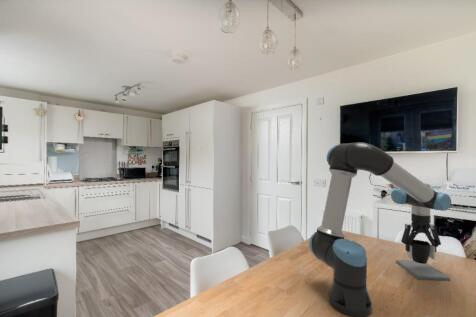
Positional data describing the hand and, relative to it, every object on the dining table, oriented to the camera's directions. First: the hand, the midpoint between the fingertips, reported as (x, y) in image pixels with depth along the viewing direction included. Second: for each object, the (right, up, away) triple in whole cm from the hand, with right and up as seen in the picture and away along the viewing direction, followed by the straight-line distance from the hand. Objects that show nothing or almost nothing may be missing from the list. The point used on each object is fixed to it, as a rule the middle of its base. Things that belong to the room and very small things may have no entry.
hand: (420, 258), depth 117 cm
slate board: (0, -6, 0) cm, 6 cm away
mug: (+1, -2, 0) cm, 2 cm away
